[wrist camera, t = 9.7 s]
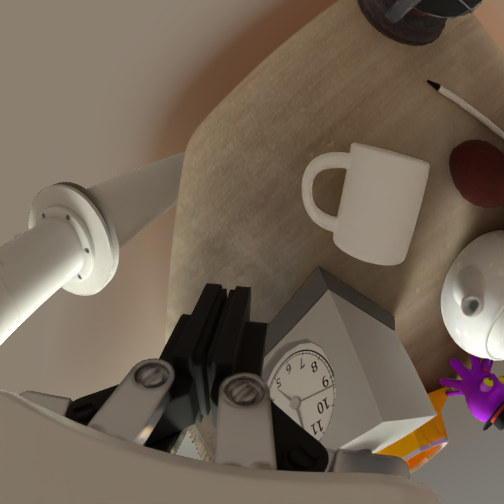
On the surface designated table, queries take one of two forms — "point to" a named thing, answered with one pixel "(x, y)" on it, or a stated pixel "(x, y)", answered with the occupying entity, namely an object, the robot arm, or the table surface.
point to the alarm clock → (343, 368)
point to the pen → (467, 107)
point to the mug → (371, 201)
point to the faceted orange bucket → (422, 437)
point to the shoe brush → (204, 438)
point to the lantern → (414, 17)
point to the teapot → (477, 297)
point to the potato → (478, 173)
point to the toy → (479, 390)
